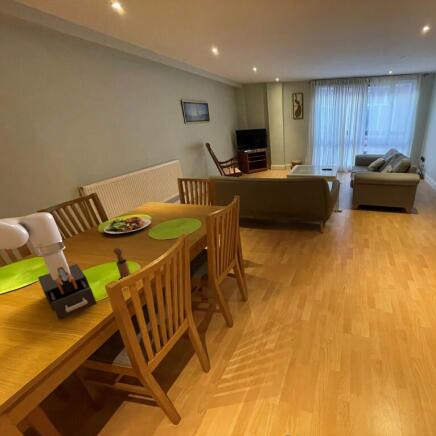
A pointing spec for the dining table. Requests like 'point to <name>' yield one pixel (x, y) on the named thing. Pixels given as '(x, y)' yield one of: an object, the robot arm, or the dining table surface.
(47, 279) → the dark grey cabinet
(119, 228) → the plate of food
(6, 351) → the dining table surface
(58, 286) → the block
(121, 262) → the wooden pepper mill
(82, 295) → the drawer
